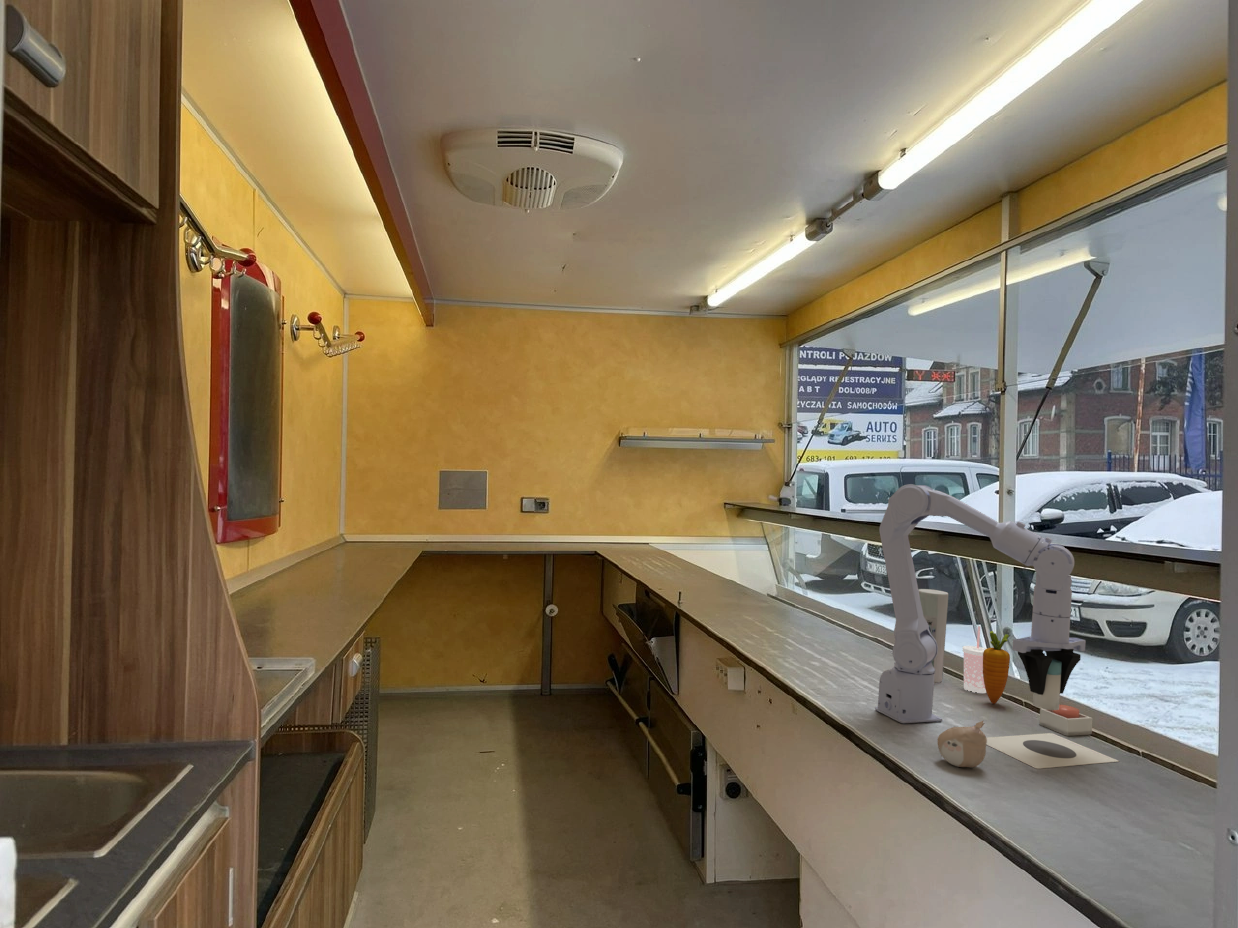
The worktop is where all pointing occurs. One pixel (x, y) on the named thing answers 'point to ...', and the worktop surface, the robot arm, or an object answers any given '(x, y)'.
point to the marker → (1050, 688)
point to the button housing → (1066, 723)
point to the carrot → (995, 668)
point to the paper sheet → (1046, 750)
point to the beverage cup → (974, 667)
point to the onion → (963, 745)
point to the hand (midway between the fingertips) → (1046, 692)
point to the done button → (1067, 711)
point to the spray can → (936, 624)
